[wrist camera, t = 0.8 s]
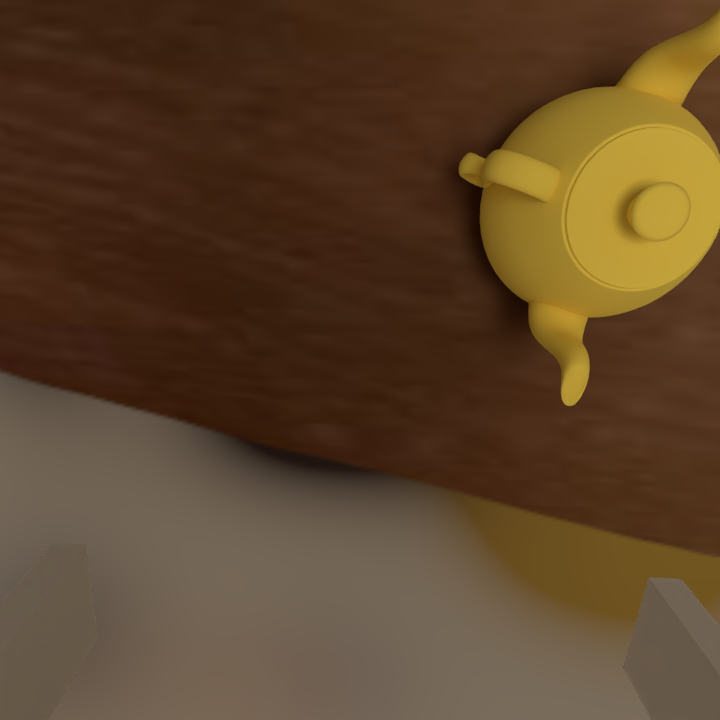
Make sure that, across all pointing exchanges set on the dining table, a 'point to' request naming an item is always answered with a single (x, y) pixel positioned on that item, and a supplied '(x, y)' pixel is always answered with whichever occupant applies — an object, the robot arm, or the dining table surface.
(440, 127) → the dining table surface
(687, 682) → the robot arm
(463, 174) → the teapot
